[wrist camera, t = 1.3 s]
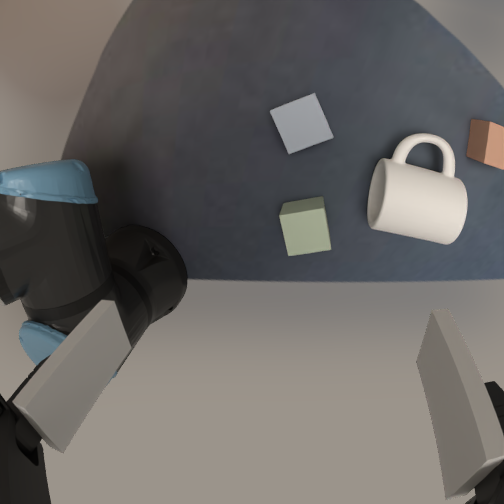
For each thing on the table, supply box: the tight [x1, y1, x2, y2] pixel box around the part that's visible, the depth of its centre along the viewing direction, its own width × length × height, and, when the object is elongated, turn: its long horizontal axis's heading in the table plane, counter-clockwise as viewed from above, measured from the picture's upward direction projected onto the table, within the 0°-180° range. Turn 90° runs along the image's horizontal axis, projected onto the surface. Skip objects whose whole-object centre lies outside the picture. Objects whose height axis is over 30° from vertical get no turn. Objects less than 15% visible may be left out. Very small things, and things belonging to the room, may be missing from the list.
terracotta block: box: [466, 119, 504, 170], centre depth 28 cm, size 5×5×5 cm
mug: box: [367, 133, 467, 244], centre depth 31 cm, size 12×10×8 cm
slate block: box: [270, 93, 334, 154], centre depth 32 cm, size 5×5×5 cm
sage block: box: [279, 196, 331, 256], centre depth 37 cm, size 5×5×5 cm
